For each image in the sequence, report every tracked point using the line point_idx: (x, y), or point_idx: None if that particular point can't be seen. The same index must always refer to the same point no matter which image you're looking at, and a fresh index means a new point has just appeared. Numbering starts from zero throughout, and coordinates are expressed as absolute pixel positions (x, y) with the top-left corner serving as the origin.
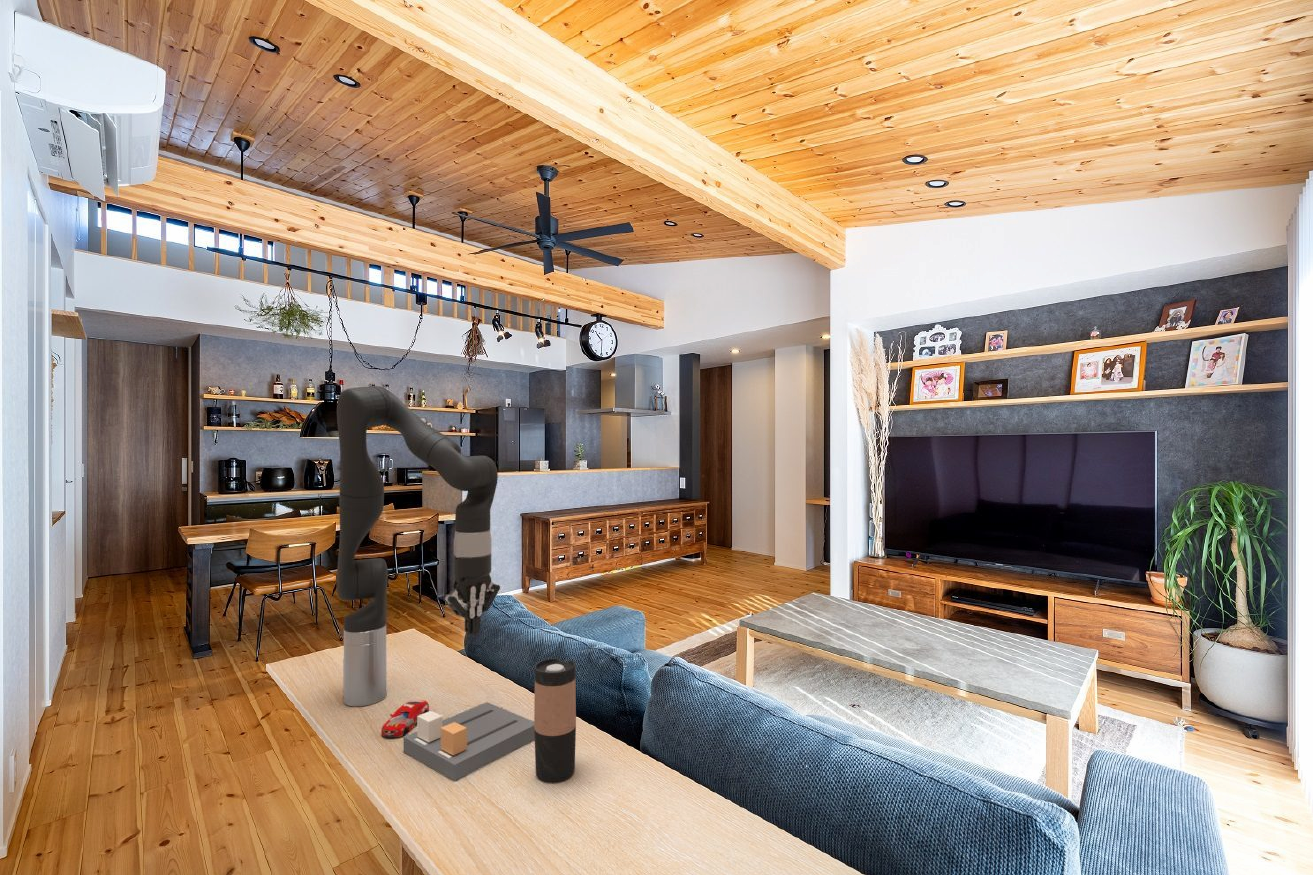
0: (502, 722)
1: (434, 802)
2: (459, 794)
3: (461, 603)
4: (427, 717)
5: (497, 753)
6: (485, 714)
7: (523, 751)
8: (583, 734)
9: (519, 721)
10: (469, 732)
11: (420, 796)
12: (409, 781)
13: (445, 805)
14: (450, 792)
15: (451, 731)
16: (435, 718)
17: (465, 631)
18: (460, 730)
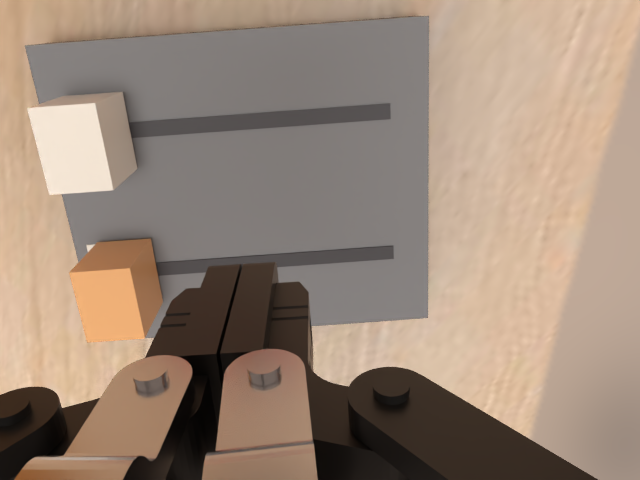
0: (353, 226)
1: (36, 358)
2: (99, 371)
3: (28, 477)
4: (59, 154)
5: None
6: (351, 121)
7: (336, 324)
8: (514, 371)
9: (396, 264)
10: (229, 204)
11: (15, 312)
12: (13, 227)
13: (54, 385)
14: (85, 349)
15: (90, 323)
16: (83, 187)
17: (181, 298)
18: (118, 338)
